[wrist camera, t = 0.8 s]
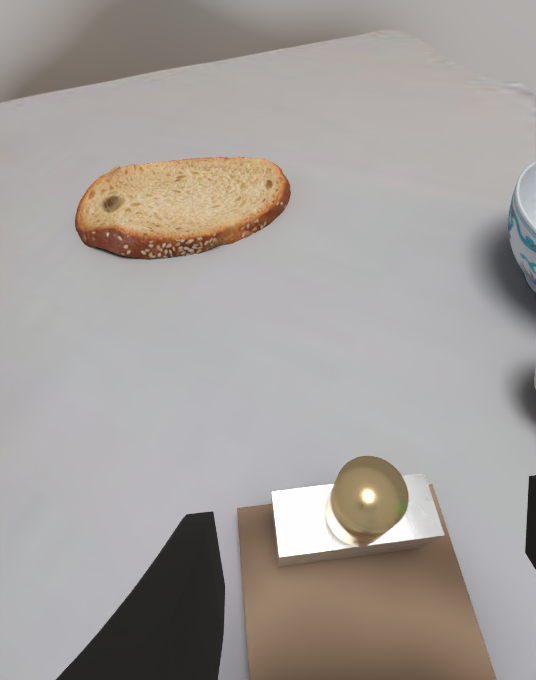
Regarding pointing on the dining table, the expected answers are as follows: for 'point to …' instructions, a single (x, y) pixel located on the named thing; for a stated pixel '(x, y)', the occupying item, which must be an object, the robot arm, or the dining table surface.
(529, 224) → the chinaware
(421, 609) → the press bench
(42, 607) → the dining table surface
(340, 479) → the jaw
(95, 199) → the bread slice
